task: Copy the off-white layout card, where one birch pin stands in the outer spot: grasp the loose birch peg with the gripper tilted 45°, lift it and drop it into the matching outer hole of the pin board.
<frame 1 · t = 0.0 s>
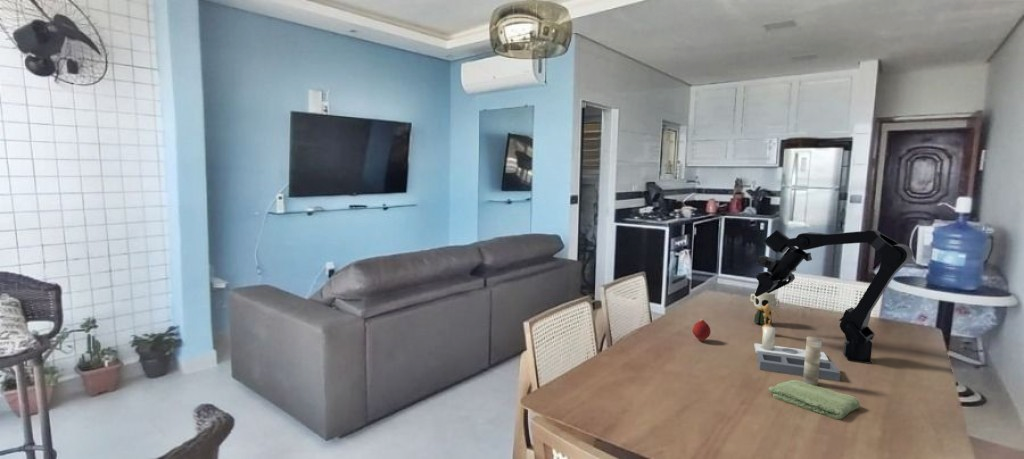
hand: (761, 294, 180), 15 cm above the table, tool tilted 35°, fingers open, 9 cm apart
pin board: (796, 369, 148), on the table
washcloth: (812, 403, 128), on the table
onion: (700, 341, 173), on the table
figurine: (766, 335, 180), on the table
character mug: (762, 324, 194), on the table
birch peg: (810, 383, 139), on the table
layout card: (789, 354, 161), on the table
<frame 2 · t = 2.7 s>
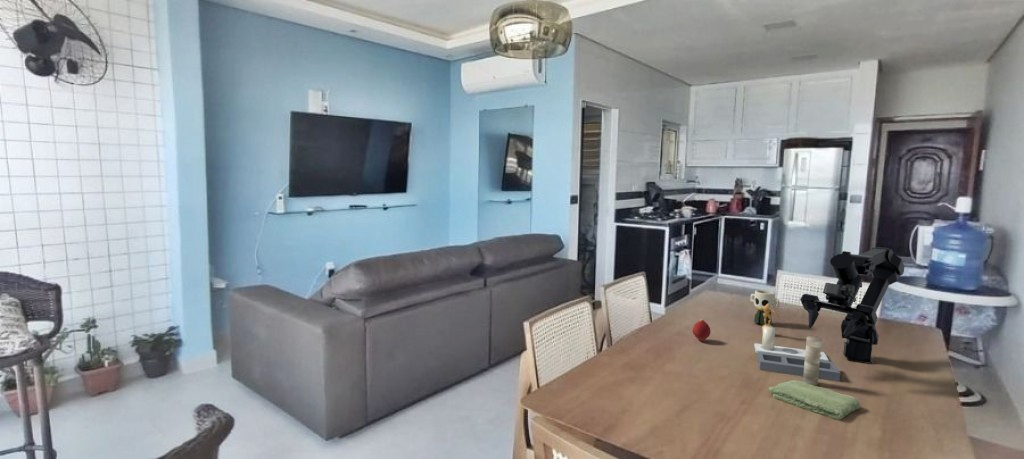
hand: (826, 331, 142), 13 cm above the table, tool tilted 45°, fingers open, 9 cm apart
nothing on the table moved.
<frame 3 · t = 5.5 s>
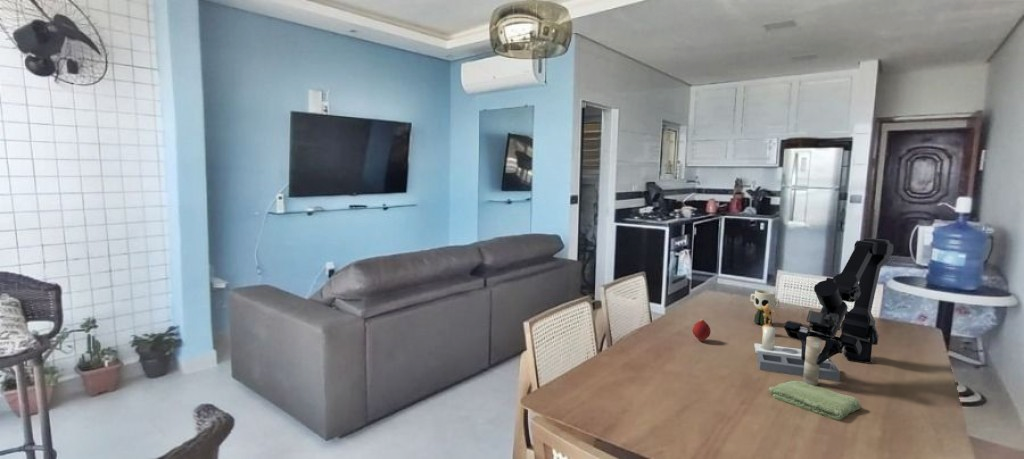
hand: (809, 361, 137), 7 cm above the table, tool tilted 45°, fingers closed on birch peg, 4 cm apart
birch peg: (810, 383, 139), on the table, touching gripper
everything else where it was.
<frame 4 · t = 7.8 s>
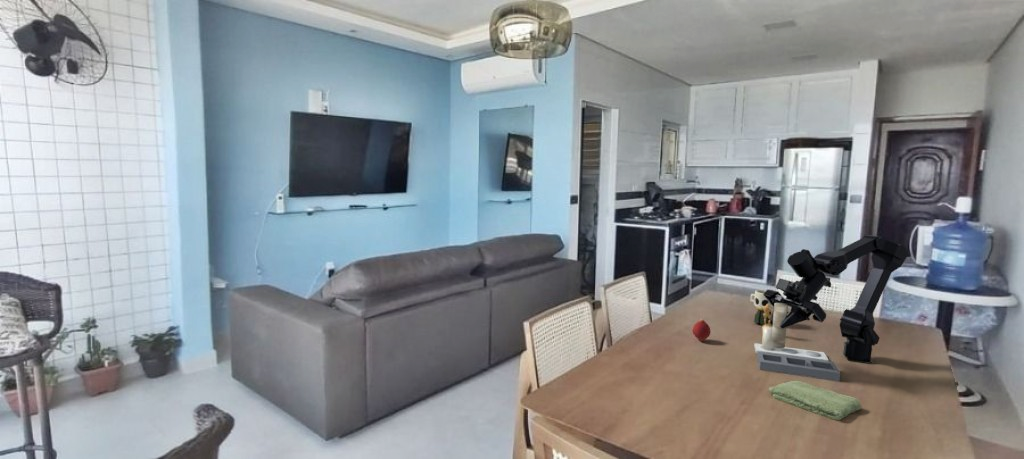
hand: (775, 325, 147), 13 cm above the table, tool tilted 45°, fingers closed on birch peg, 4 cm apart
birch peg: (777, 346, 148), point 7 cm above the table, touching gripper
everything else where it was.
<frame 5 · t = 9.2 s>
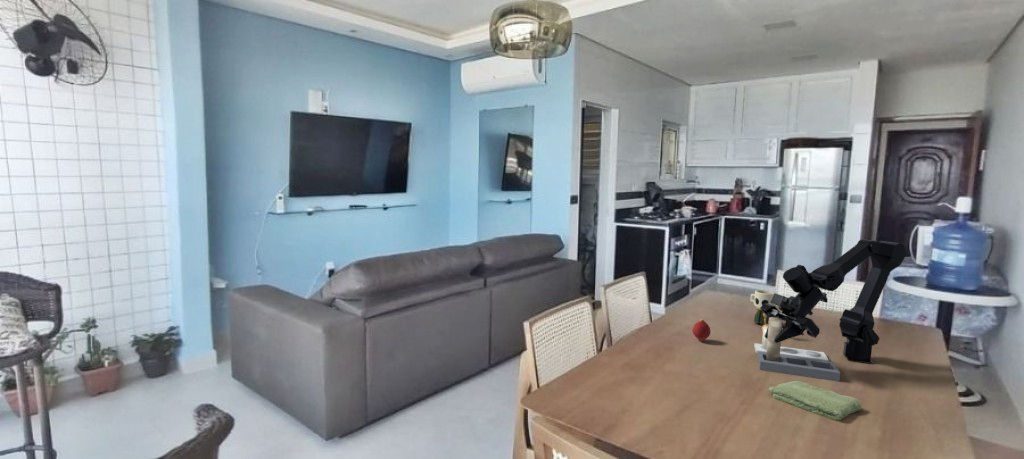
hand: (770, 339, 150), 8 cm above the table, tool tilted 45°, fingers closed on birch peg, 4 cm apart
birch peg: (772, 360, 151), point 2 cm above the table, touching gripper
everything else where it was.
when the fingers open (8 cm above the table, at t = 10.3 s): birch peg drops 1 cm, resting in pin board.
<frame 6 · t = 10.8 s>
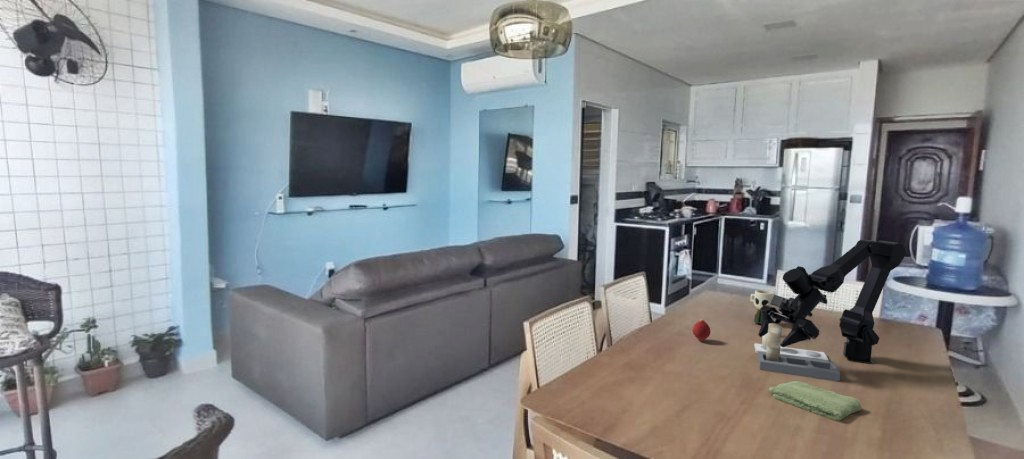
hand: (770, 341, 150), 8 cm above the table, tool tilted 45°, fingers open, 9 cm apart
birch peg: (772, 366, 151), resting in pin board
everything else where it was.
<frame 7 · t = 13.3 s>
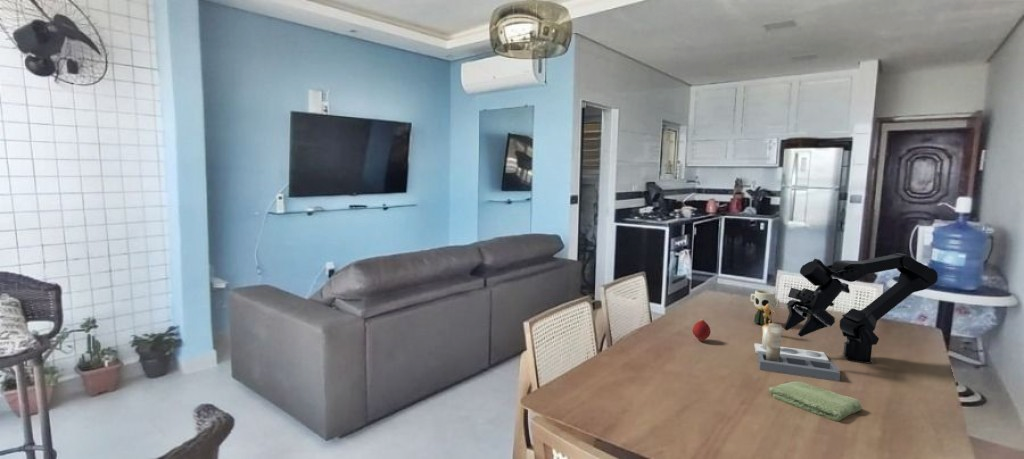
hand: (792, 332, 156), 9 cm above the table, tool tilted 40°, fingers open, 9 cm apart
nothing on the table moved.
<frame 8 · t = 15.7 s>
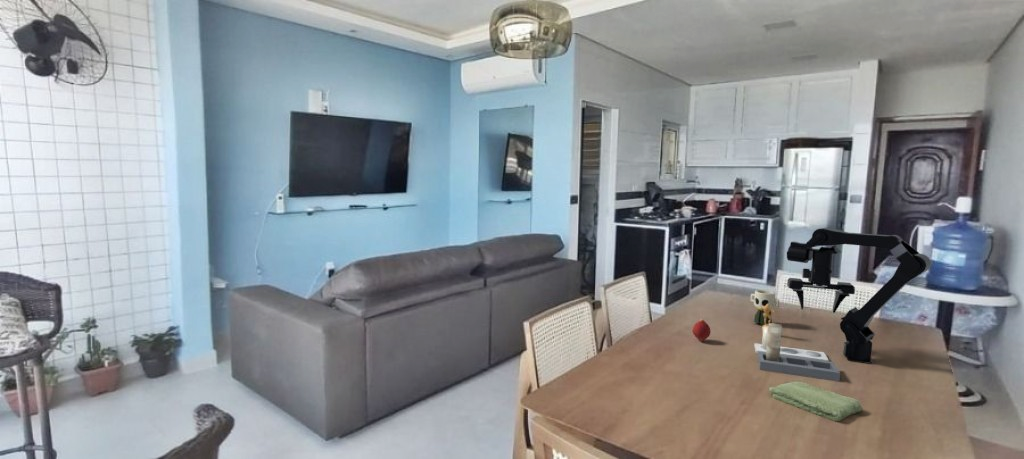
hand: (817, 310, 166), 13 cm above the table, tool pointing down, fingers open, 9 cm apart
nothing on the table moved.
at the end: birch peg 0.0 cm from the target spot on the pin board, point 0.0 cm above the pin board's base; birch peg tilted 0°; the gripper is holding nothing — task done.
